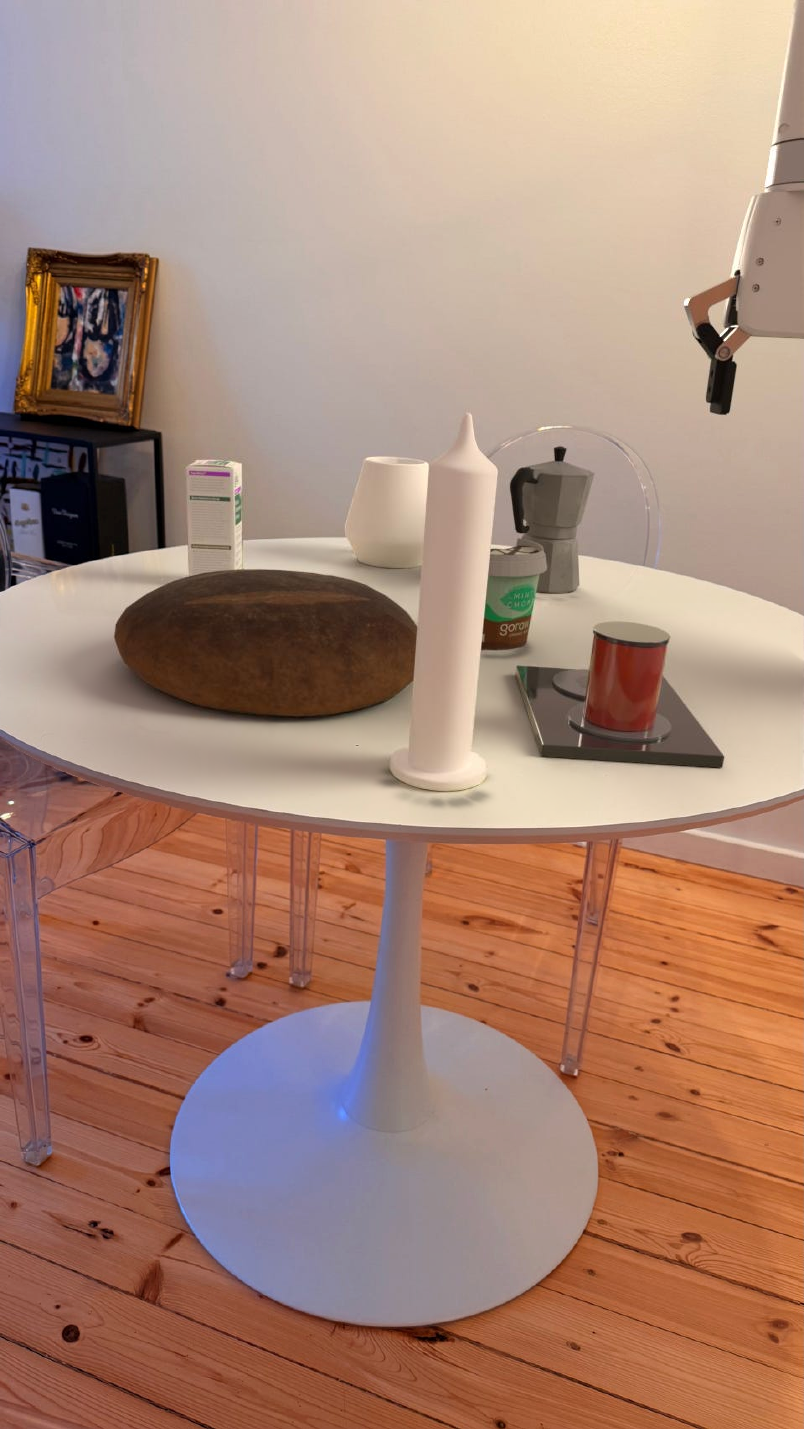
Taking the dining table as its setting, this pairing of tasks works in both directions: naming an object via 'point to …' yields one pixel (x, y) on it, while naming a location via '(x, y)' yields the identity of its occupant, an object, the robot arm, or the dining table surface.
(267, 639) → the bread
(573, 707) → the hob
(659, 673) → the red canister
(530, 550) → the food container
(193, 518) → the syrup box
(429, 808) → the dining table surface
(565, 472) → the coffeepot
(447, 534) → the candle
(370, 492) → the white vase
